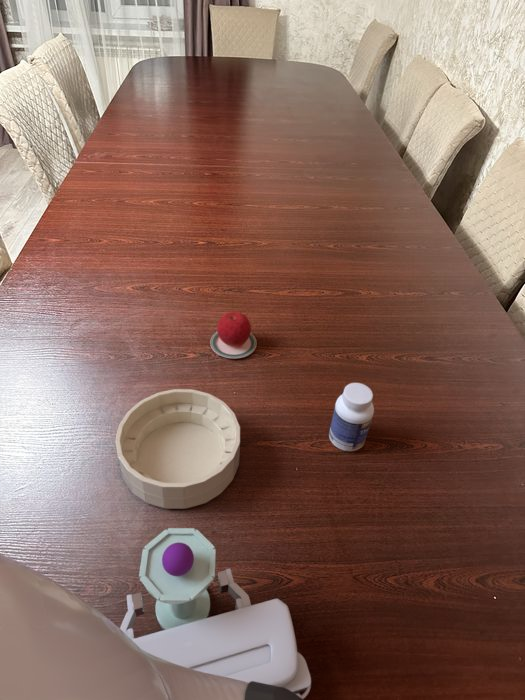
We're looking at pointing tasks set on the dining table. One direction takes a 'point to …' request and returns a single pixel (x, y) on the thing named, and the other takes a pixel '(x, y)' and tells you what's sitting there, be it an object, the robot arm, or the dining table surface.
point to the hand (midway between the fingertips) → (179, 583)
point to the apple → (233, 336)
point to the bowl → (178, 448)
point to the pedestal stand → (179, 578)
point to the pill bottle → (352, 417)
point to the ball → (177, 559)
